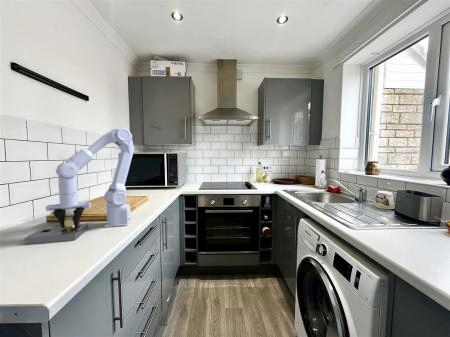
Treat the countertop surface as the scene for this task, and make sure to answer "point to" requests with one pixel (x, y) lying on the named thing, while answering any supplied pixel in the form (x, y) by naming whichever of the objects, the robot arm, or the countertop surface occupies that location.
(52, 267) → the countertop surface
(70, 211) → the showerhead
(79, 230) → the fitting plate
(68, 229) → the pipe stub
